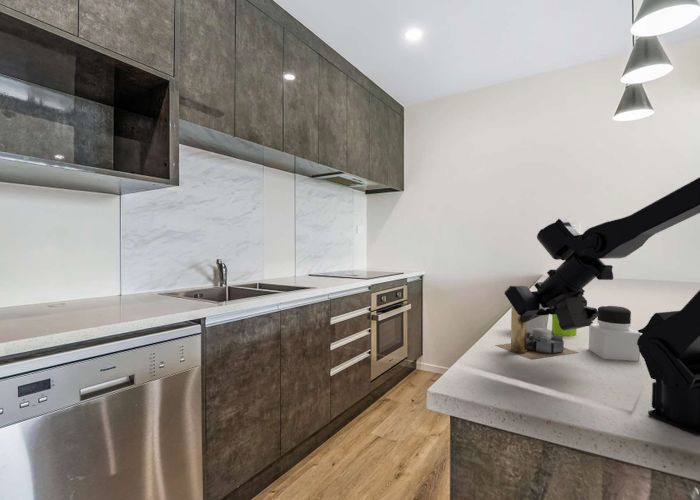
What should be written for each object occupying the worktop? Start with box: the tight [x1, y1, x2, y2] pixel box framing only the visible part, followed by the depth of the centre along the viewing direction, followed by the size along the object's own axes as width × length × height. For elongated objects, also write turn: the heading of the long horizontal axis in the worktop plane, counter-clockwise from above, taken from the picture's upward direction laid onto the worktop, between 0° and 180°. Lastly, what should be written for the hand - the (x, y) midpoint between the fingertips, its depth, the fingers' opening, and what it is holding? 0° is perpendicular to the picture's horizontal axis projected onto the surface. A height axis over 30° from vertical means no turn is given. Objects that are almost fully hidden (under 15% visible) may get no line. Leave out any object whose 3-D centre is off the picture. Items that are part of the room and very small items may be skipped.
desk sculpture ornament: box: [510, 306, 565, 353], centre depth 84 cm, size 9×14×10 cm, turn 112°
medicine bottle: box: [588, 305, 641, 362], centre depth 80 cm, size 7×7×12 cm
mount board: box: [495, 328, 580, 361], centre depth 84 cm, size 11×14×5 cm
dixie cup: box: [526, 314, 550, 333], centre depth 98 cm, size 8×8×10 cm
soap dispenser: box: [551, 314, 577, 337], centre depth 98 cm, size 6×7×20 cm
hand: (522, 320), depth 80 cm, fingers closed, pressing on desk sculpture ornament
